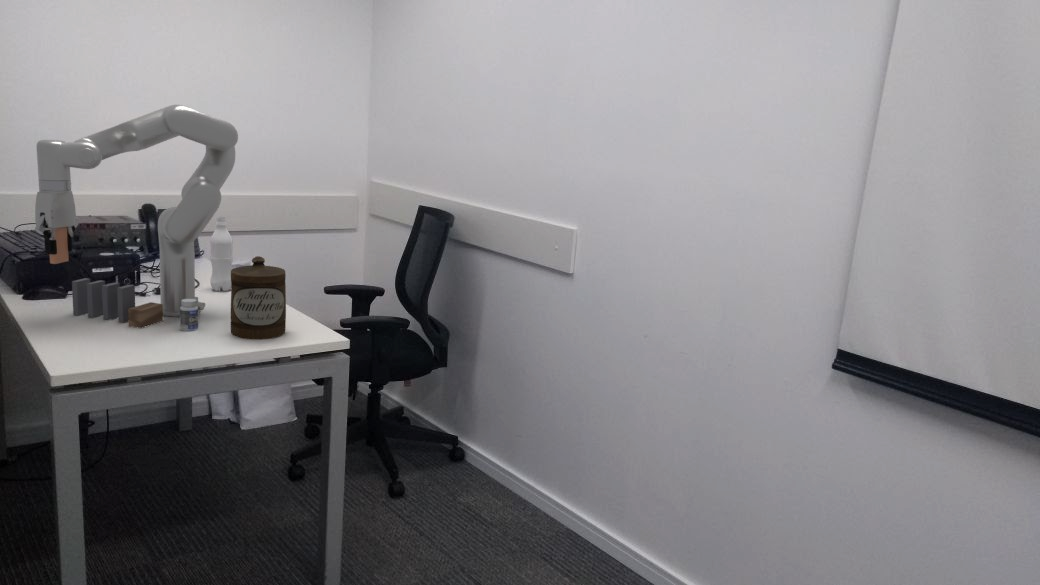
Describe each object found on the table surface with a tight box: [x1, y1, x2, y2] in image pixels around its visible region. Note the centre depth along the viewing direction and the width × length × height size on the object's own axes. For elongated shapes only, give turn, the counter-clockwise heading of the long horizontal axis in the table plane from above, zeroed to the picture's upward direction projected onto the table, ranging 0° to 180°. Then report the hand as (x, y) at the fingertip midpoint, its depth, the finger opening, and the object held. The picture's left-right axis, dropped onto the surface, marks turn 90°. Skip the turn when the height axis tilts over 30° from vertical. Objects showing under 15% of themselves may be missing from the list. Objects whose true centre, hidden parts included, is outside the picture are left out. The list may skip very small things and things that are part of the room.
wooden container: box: [230, 255, 287, 341], centre depth 218 cm, size 15×15×22 cm
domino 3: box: [87, 279, 106, 319], centre depth 223 cm, size 2×5×10 cm, turn 167°
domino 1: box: [48, 227, 70, 265], centre depth 214 cm, size 2×5×10 cm, turn 170°
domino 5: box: [117, 284, 136, 324], centre depth 220 cm, size 2×5×10 cm, turn 167°
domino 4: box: [102, 282, 121, 322], centre depth 221 cm, size 2×5×10 cm, turn 167°
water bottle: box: [209, 216, 234, 292], centre depth 263 cm, size 7×7×25 cm
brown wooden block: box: [128, 302, 164, 329], centre depth 220 cm, size 4×9×5 cm, turn 167°
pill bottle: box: [179, 299, 199, 332], centre depth 217 cm, size 5×5×8 cm
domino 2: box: [71, 277, 91, 317], centre depth 224 cm, size 2×5×10 cm, turn 167°
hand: (59, 251), depth 214 cm, fingers closed on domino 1, 4 cm apart
